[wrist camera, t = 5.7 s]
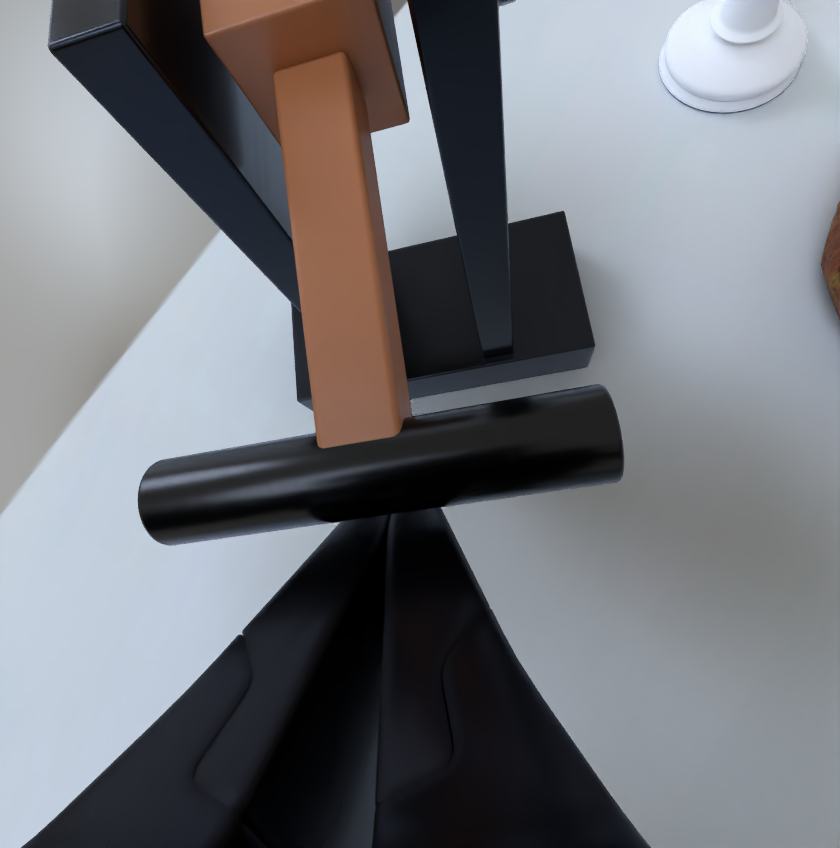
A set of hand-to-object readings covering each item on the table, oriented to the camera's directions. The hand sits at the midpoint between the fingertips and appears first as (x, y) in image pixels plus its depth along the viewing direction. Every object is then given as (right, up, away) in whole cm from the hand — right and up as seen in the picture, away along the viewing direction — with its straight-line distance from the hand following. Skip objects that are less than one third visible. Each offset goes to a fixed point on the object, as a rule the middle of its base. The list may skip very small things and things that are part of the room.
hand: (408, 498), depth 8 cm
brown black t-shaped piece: (-1, +4, 0) cm, 4 cm away
